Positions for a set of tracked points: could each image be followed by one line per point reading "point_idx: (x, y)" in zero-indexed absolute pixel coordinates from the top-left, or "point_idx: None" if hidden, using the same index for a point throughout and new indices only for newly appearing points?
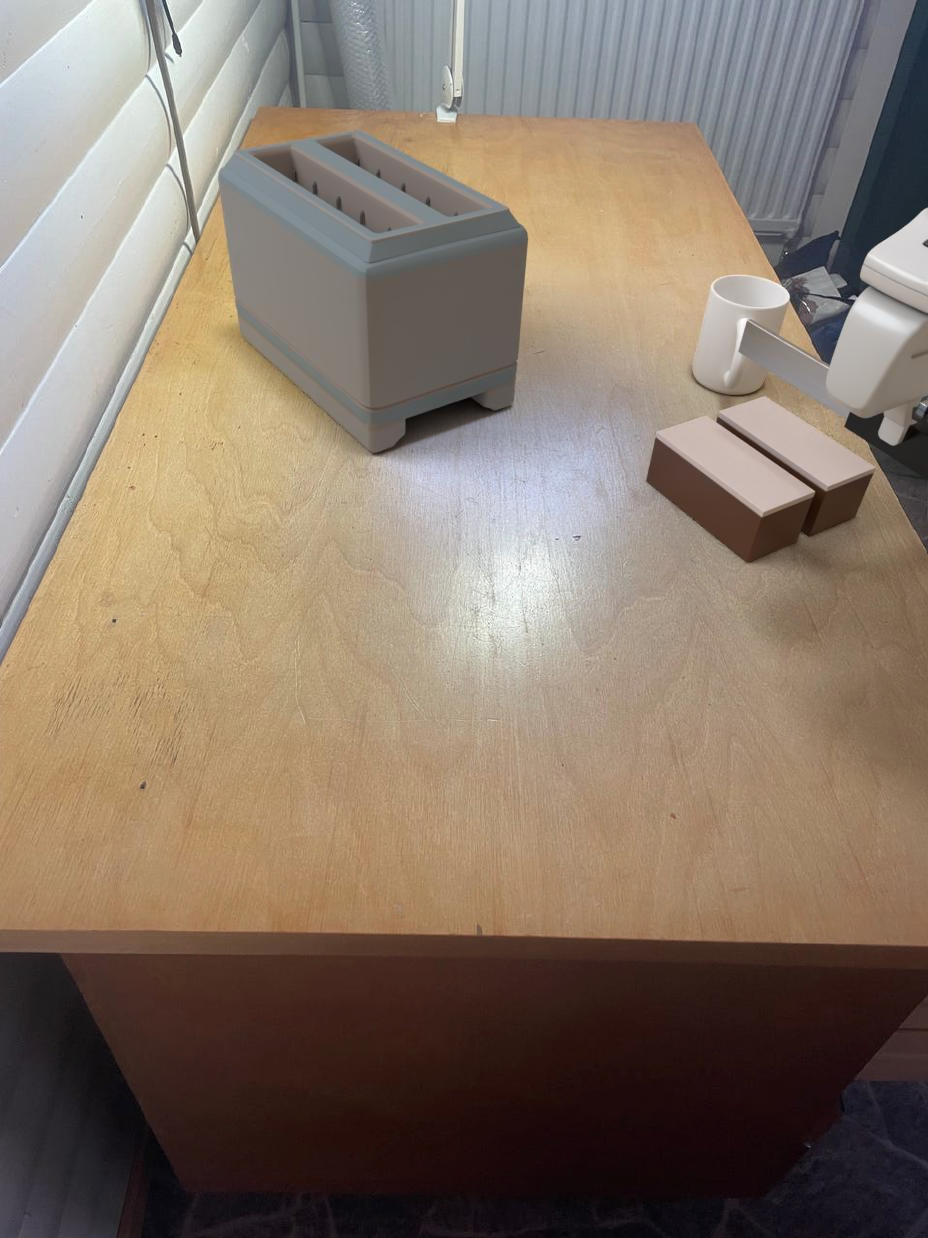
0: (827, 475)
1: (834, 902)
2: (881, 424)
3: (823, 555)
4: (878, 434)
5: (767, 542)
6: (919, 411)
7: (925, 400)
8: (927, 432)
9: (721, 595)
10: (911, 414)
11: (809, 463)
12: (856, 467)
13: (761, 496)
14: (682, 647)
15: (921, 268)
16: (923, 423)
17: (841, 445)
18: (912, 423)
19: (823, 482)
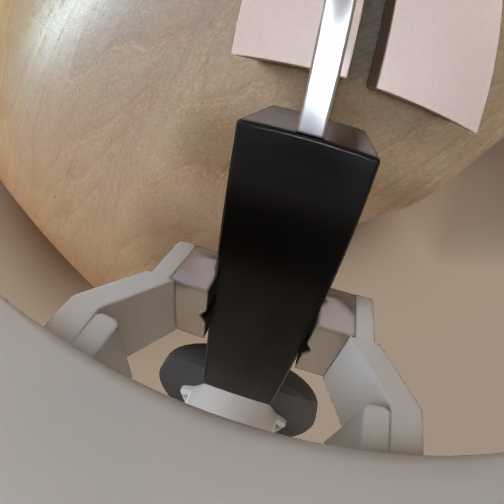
0: (403, 75)
1: (89, 270)
2: (167, 254)
3: (346, 116)
4: (181, 241)
5: (278, 63)
6: (299, 319)
7: (341, 333)
8: (216, 347)
9: (191, 78)
10: (136, 349)
11: (411, 40)
12: (457, 107)
13: (261, 28)
14: (118, 107)
15: None
16: (246, 336)
17: (491, 71)
18: (185, 330)
19: (380, 77)
